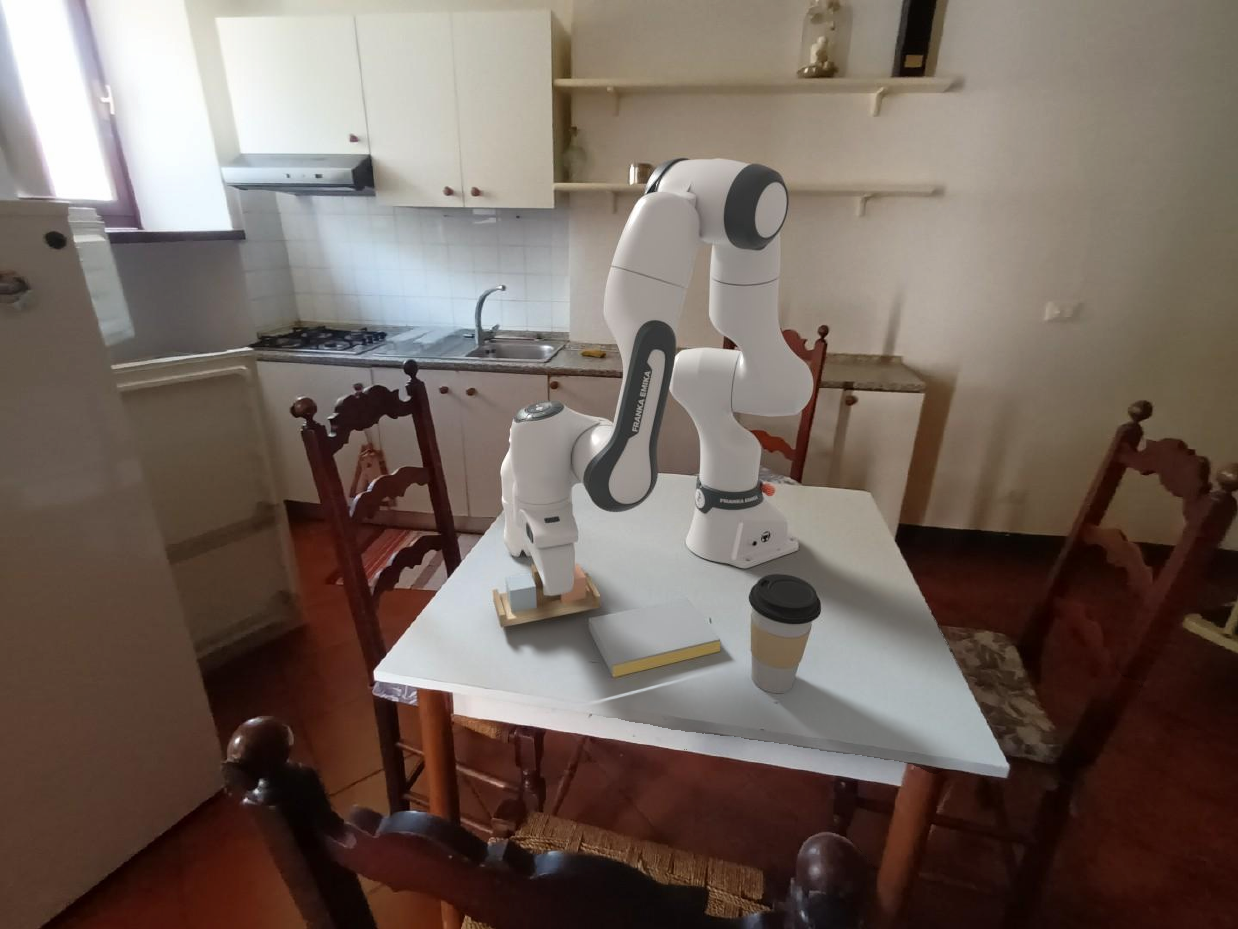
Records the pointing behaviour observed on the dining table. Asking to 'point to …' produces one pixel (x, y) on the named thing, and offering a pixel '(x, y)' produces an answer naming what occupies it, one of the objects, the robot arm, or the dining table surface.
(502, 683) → the dining table surface
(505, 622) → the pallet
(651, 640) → the dock
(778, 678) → the coffee cup
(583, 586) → the block
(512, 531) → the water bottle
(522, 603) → the block
